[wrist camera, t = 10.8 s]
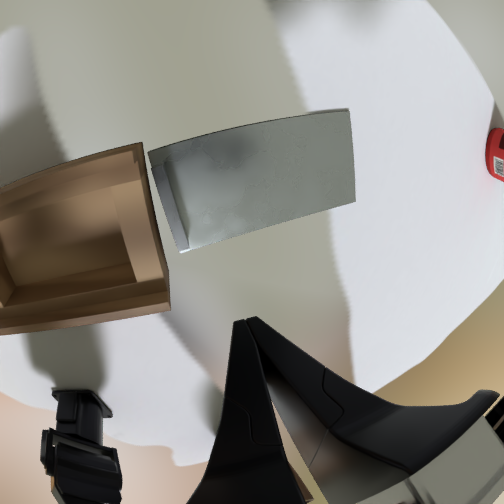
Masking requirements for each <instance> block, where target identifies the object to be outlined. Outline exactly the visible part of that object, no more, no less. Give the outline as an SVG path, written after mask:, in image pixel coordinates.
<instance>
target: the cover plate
mask: <svg viewBox="0 0 504 504" xmlns="http://www.w3.org/2000/svg"><path fill="white" fill-rule="evenodd" d="M148 156H149V159H150V163H151V166H152V168H151V170H152V174H153V177H154V180H155V184H156V187H157V190H158V193H159V196H160V199H161V202H162V205H163V208H164V211H165V214H166V217H167V220H168V223H169V226H170V228H171V232H172V234H173V237H174V240H175V243H176V245H177V248H178V251H179V252H180V253H183V252H186V251H189V250H193V249H196V248H199V247H203V246H206V245H209V244H212V243H215V242H219V241H222V240H225V239H229V238H232V237H235V236H239V235H242V234H245V233H248V232H251V231H255V230H259V229H262V228H265V227H268V226H272V225H275V224H279V223H282V222H286V221H289V220H293V219H296V218H300V217H303V216H306V215H310V214H313V213H317V212H321V211H324V210H328V209H331V208H335V207H338V206H342V205H345V204H349V203H353V202H356V197H355V171H354V155H353V142H352V131H351V121H350V112H349V111H341V112H331V113H321V114H313V115H309V114H307V115H300V116H293V117H286V118H280V119H275V120H268V121H263V122H257V123H252V124H247V125H243V126H238V127H233V128H229V129H225V130H221V131H217V132H212V133H209V134H205V135H201V136H197V137H193V138H190V139H186V140H183V141H179V142H176V143H172V144H169V145H166V146H163V147H160V148H157V149H153V150H150V151H148Z"/></svg>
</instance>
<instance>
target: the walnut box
mask: <svg viewBox="0 0 504 504" xmlns="http://www.w3.org/2000/svg"><path fill="white" fill-rule="evenodd" d="M169 286H170V285H169V270H168V266H167V262H166V258H165V254H164V250H163V246H162V242H161V237H160V233H159V229H158V224H157V220H156V215H155V211H154V205H153V201H152V196H151V190H150V185H149V179H148V174H147V168H146V163H145V156H144V150H143V143H142V142H139V143H134V144H130V145H126V146H122V147H118V148H114V149H110V150H106V151H103V152H99V153H95V154H92V155H88V156H85V157H81V158H78V159H75V160H72V161H69V162H66V163H63V164H60V165H57V166H54V167H51V168H48V169H46V170H43V171H40V172H38V173H35V174H32V175H30V176H27V177H25V178H22V179H20V180H18V181H15V182H13V183H11V184H8V185H6V186H4V187H2V188H0V335H11V334H20V333H29V332H37V331H45V330H53V329H61V328H68V327H75V326H82V325H89V324H95V323H102V322H108V321H114V320H120V319H126V318H132V317H138V316H143V315H149V314H155V313H160V312H165V311H170V310H171V304H170V287H169Z"/></svg>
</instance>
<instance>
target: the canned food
mask: <svg viewBox="0 0 504 504" xmlns="http://www.w3.org/2000/svg"><path fill="white" fill-rule="evenodd" d="M486 166H487V169H488V171H489V173H490V174H491V175H492V176H493V177H494V178H497V179H499V180H501V181H503V182H504V129H501V128H494V129H493V130H492V131H491V132H490V134H489V136H488V139H487V144H486Z"/></svg>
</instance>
